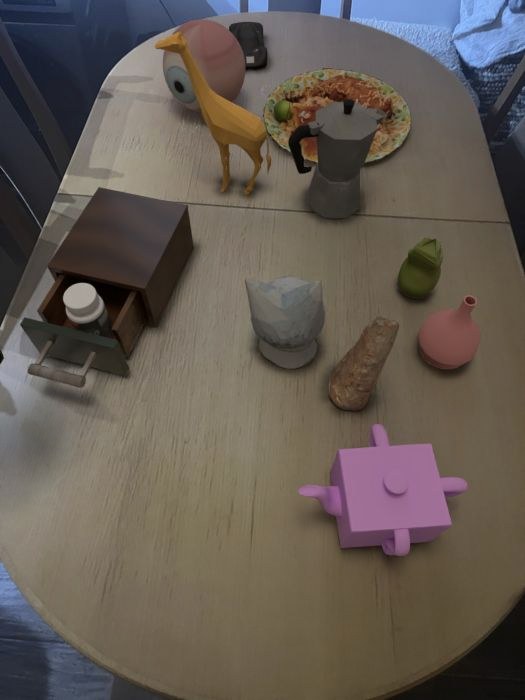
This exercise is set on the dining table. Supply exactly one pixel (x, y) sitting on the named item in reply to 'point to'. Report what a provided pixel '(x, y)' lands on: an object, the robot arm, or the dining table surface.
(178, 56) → the eyeball
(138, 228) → the cabinet
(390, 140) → the rice dish
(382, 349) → the brown tapered rod
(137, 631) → the dining table surface
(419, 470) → the teapot
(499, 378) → the dining table surface
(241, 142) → the giraffe
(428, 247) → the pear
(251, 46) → the toy car
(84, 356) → the drawer
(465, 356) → the pink vase
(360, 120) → the coffeepot
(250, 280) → the figurine
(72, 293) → the pill bottle
